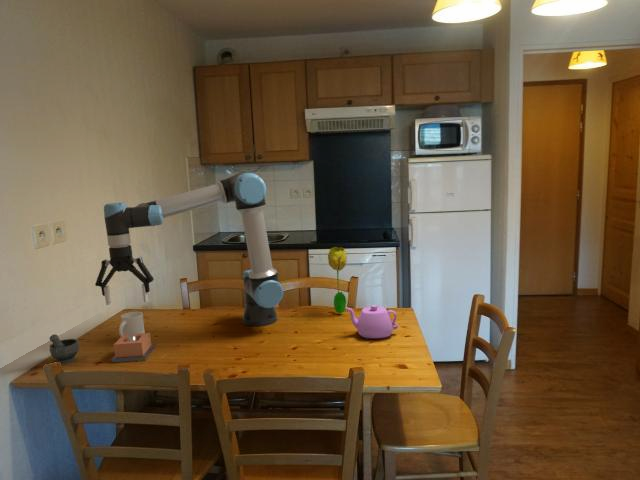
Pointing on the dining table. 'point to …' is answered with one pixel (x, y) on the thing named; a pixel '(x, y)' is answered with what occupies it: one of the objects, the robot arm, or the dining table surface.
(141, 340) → the terracotta brick slab
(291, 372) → the dining table surface
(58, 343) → the mortar and pestle
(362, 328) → the teapot
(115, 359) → the block
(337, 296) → the flower
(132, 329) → the mug
